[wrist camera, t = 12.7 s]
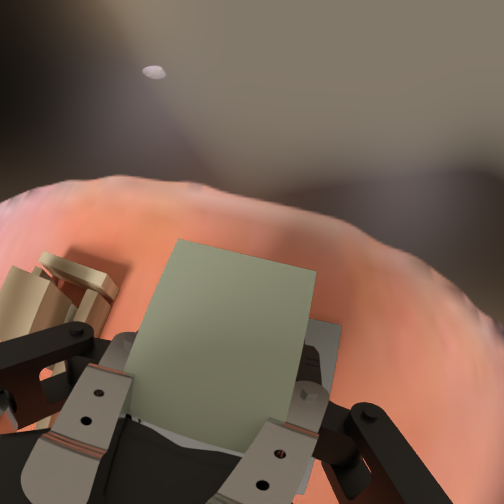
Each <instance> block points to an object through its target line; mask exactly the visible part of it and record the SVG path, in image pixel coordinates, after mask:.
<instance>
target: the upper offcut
mask: <svg viewBox="0 0 504 504" xmlns="http://www.w3.org/2000/svg"><path fill="white" fill-rule="evenodd" d="M71 303H72V300H71V299H69V298H68V297H67V296H66V295H65V294H64V293H63V292H62V291H61V290H59V289H58V288H57V287H56V286H55V285H54V284H53V283H52V282H51V281H49V280H47V279H44V278H42V277H39V276H36V275H34V274H31V273H29V272H27V271H24V270H22V269H19V268H17V267H15V266H12V267H11V269H10V271H9V273H8V275H7V277H6V279H5V281H4V283H3V286H2V288H1V290H0V341H1V342H3V341H7V340H10V339H14V338H17V337H20V336H24V335H27V334H31V333H34V332H37V331H41V330H44V329H47V328H51V327H54V326H57V325H61V324H63V323H64V321H65V318H66V316H67V313H68V311H69V308H70V306H71Z"/></svg>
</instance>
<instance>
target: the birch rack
mask: <svg viewBox="0 0 504 504" xmlns="http://www.w3.org/2000/svg"><path fill="white" fill-rule="evenodd" d="M38 261H39V262H40V263H41V264H42V265H43V266H44V267H45V268H46V269H47V270H48V271H49V272H50V273H51V274H52V275H53V276H55V277H57V278H59V279H62V280H64V281H66V282H69V283H71V284H73V285H76V286H78V287H81V288H83V289H85V290H87V291H86V293H85V295H84V297H83V299H82V301H81V303H80V306H79V308H78V310H77V312H76V314H75V317H74V319H73V321H80V322H85V323H87V324H89V325H90V326H92V327H93V329H94V337H95V338H99V336H100V333H101V331H102V328H103V326H104V324H105V321H106V319H107V317H108V314H109V312H110V310H111V307H112V306H111V305H110V304H109V303H108V302H107V301H106V300H105V299H104V298H103V297H106V298H108V299H111V300H114V301H115V298H116V296H117V294H118V292H119V290H120V289H119V288H118V287H117V286H116V284H115V283H114V282H113V281H112V279H111V278H110V277H109V276H108V274H106V273H103V272H100V271H97V270H94V269H92V268H89V267H86V266H83V265H80V264H78V263H75V262H72V261H70V260H67V259H64V258H62V257H59V256H56V255H54V254H51V253H49V252H46V251H43V253H42V255H41V257H40V259H39V260H38ZM31 274H34V275H36V276H39V277H42V278H44V279H47V280H49V281H51V282H52V283H53V284H54V285H55V286H56V285H57V283H56V282H55V281H54V280H53V279H52V278H51V277H50V276H49V275H48V274H47V273H46V272H45V271H44V270H43V269H41V268H39V267H37V266H35V268H34V270H33V271H32V273H31ZM102 296H103V297H102ZM65 371H66V370H65V364H64V361H62V362H59V363H56V364H55V367H54V369H53V372H52V375H51V377H52V376H55V375H57V374H60V373H62V372H65ZM59 413H60V412H57V413H55V414H53V415H51V416H49V417H47V418H44V419H42V420H40V421H38V422H37V425H36V429H35V430H38V429H45V428H51V427H52V426H53V424H54V423H55V421H56V419H57V417H58V415H59Z"/></svg>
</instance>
